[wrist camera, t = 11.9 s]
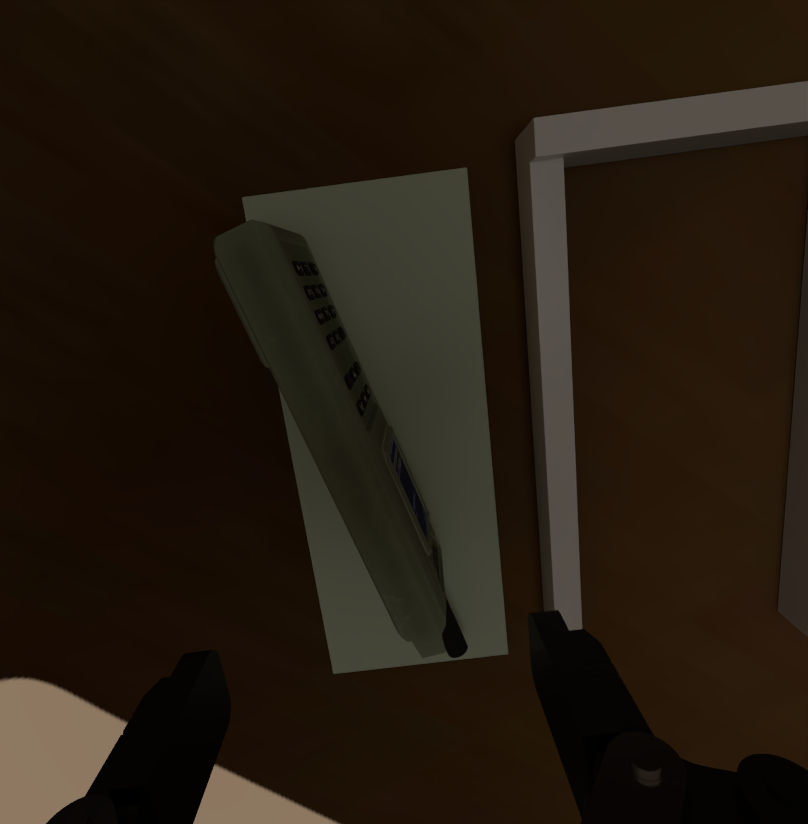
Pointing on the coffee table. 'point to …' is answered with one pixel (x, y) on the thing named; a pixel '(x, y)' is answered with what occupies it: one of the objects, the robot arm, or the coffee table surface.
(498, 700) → the coffee table surface
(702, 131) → the white u-shaped frame
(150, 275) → the coffee table surface
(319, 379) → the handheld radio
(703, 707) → the coffee table surface
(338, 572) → the green mat
